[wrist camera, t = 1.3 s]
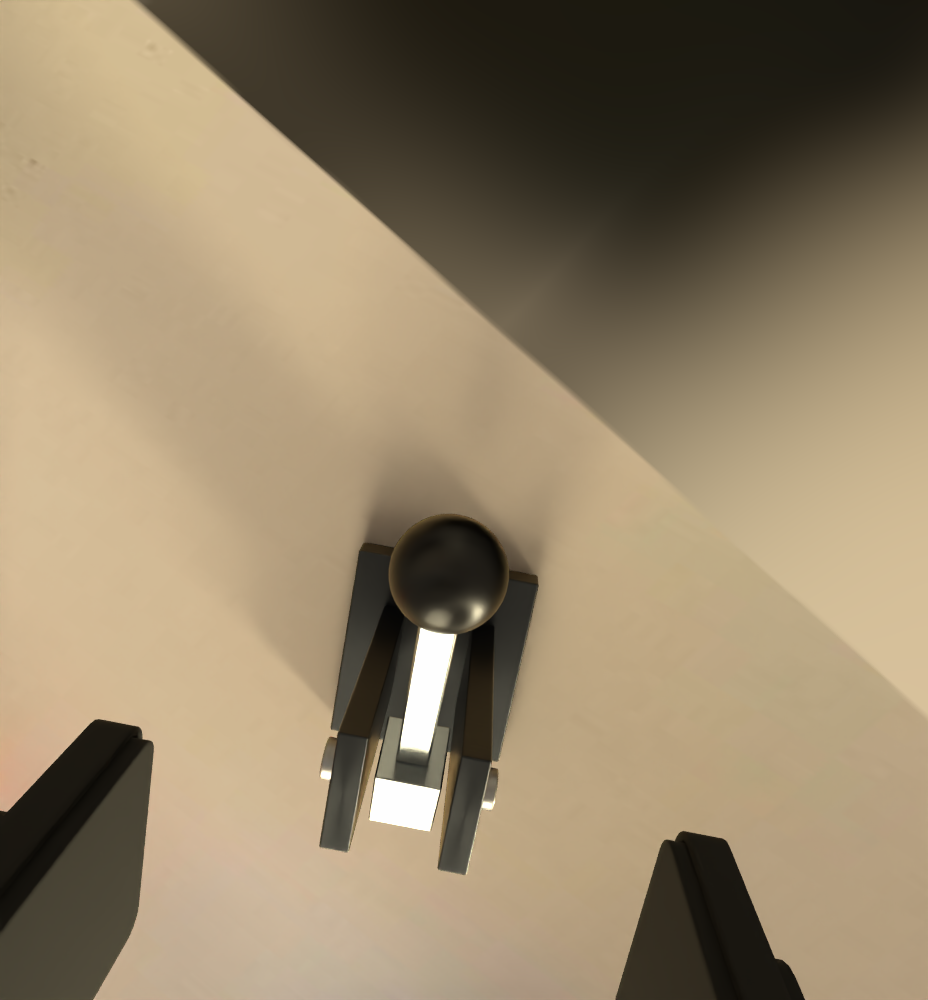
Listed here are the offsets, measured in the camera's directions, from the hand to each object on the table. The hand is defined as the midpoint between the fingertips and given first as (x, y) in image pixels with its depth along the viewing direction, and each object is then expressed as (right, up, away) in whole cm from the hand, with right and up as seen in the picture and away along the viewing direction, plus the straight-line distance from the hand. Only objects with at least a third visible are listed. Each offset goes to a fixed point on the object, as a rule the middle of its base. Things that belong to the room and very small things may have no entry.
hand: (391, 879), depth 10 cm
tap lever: (0, 0, +15) cm, 15 cm away
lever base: (-1, -2, +27) cm, 27 cm away
